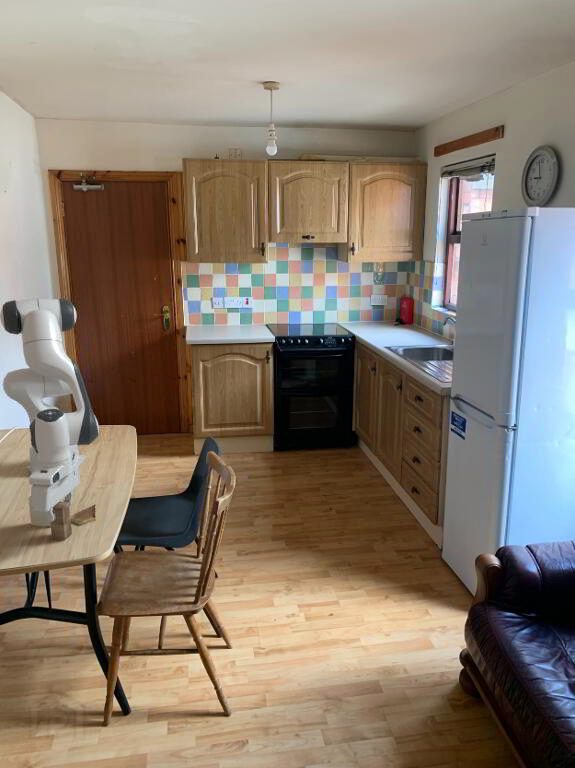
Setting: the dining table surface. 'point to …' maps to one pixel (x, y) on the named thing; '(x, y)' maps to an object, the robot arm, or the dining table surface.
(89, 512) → the shard
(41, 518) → the slate board
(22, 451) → the dining table surface
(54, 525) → the walnut block
